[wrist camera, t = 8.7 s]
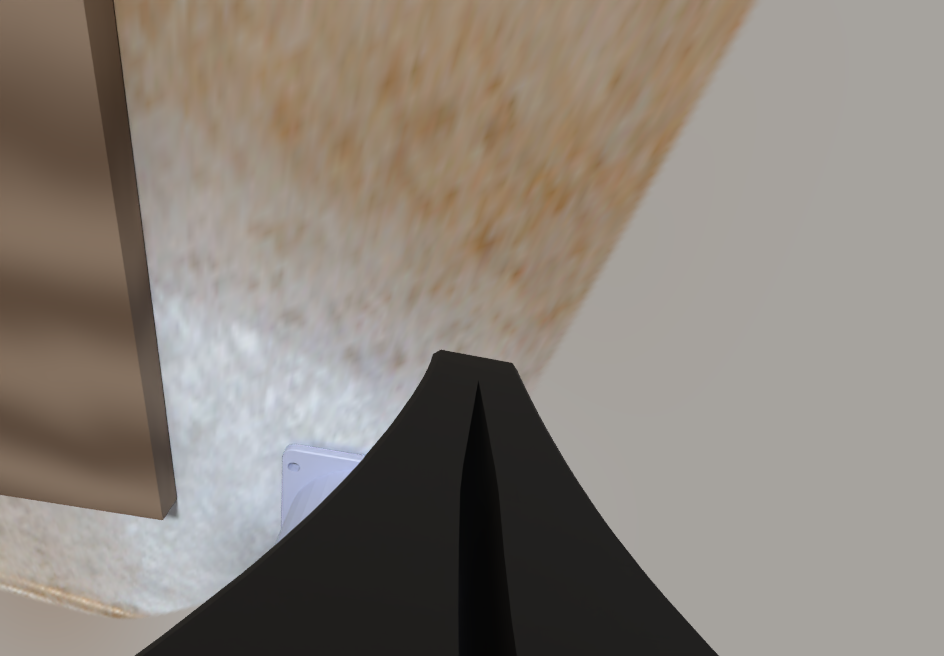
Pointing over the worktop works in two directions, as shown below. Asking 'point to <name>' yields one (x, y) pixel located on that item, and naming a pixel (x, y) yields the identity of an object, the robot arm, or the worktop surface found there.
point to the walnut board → (74, 272)
